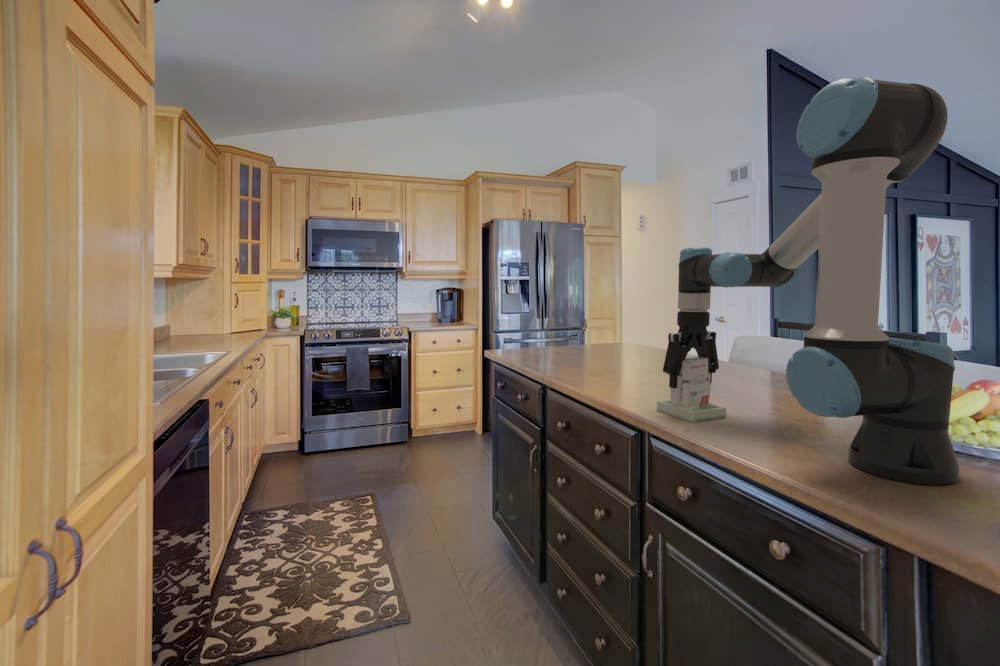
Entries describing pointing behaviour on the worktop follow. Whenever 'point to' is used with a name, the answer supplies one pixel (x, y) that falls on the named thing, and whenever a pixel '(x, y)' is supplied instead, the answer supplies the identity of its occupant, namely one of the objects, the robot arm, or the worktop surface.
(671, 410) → the pale green tray
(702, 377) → the ink box
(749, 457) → the worktop surface
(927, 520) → the worktop surface
